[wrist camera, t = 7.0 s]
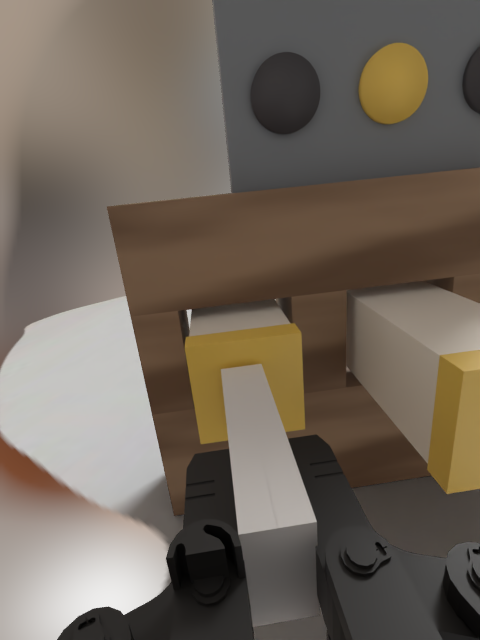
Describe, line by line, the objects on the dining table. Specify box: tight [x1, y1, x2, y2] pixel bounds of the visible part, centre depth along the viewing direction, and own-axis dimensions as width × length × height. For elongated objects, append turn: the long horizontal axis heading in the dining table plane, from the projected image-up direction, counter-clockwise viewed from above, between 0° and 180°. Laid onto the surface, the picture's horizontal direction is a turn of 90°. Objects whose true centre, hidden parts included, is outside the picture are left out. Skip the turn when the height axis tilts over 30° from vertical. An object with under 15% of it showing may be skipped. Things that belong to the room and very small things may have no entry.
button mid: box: [346, 281, 480, 494], centre depth 14 cm, size 9×4×4 cm, turn 6°
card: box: [212, 0, 480, 193], centre depth 15 cm, size 1×14×7 cm, turn 96°
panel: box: [107, 167, 480, 516], centre depth 19 cm, size 4×24×16 cm, turn 96°
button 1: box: [185, 299, 305, 444], centre depth 17 cm, size 9×4×4 cm, turn 6°
